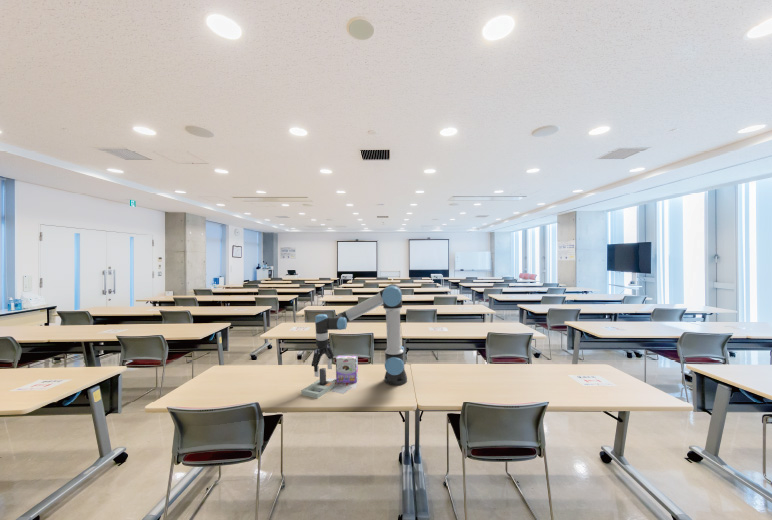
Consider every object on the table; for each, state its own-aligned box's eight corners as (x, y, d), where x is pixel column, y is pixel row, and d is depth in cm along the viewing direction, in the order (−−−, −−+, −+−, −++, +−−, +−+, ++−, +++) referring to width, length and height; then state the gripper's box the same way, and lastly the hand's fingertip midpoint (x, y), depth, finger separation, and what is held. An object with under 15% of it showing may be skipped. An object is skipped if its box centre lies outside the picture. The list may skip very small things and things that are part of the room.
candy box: (358, 379, 212) (357, 355, 212) (356, 383, 207) (356, 358, 206) (338, 379, 214) (337, 355, 213) (335, 382, 208) (335, 358, 208)
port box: (335, 386, 202) (334, 381, 202) (317, 398, 185) (317, 393, 185) (319, 383, 207) (319, 378, 207) (301, 395, 190) (301, 389, 190)
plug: (327, 387, 201) (327, 368, 201) (323, 389, 197) (323, 370, 197) (322, 386, 203) (321, 367, 202) (318, 388, 199) (318, 369, 199)
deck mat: (352, 387, 200) (352, 387, 200) (343, 394, 191) (343, 393, 191) (338, 385, 204) (338, 384, 204) (330, 391, 195) (330, 390, 195)
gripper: (328, 333, 212) (329, 365, 213) (304, 344, 190) (306, 379, 190) (338, 334, 209) (339, 366, 210) (314, 345, 186) (316, 380, 187)
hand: (323, 372), depth 200 cm, fingers open, 13 cm apart
